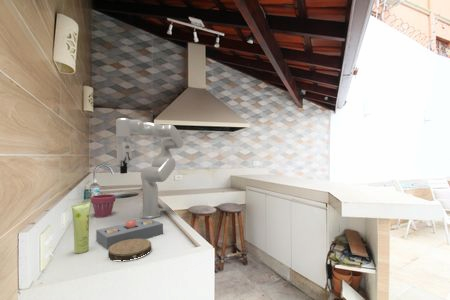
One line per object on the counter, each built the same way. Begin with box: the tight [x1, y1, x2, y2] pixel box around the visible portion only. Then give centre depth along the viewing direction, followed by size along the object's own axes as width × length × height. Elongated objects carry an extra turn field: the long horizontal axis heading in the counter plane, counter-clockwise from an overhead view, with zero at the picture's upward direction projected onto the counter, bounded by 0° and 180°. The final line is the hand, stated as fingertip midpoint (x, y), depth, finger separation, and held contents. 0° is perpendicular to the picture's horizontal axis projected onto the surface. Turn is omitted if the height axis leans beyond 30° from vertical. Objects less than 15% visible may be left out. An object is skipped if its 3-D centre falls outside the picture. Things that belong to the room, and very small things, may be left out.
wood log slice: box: [107, 239, 152, 261], centre depth 93 cm, size 16×16×3 cm
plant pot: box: [90, 193, 116, 218], centre depth 152 cm, size 14×14×13 cm
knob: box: [107, 229, 118, 234], centre depth 105 cm, size 4×4×4 cm
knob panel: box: [95, 218, 164, 250], centre depth 111 cm, size 26×14×5 cm, turn 135°
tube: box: [71, 201, 91, 254], centre depth 95 cm, size 6×5×20 cm
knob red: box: [125, 219, 137, 229], centre depth 111 cm, size 4×4×4 cm
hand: (123, 173), depth 130 cm, fingers closed
